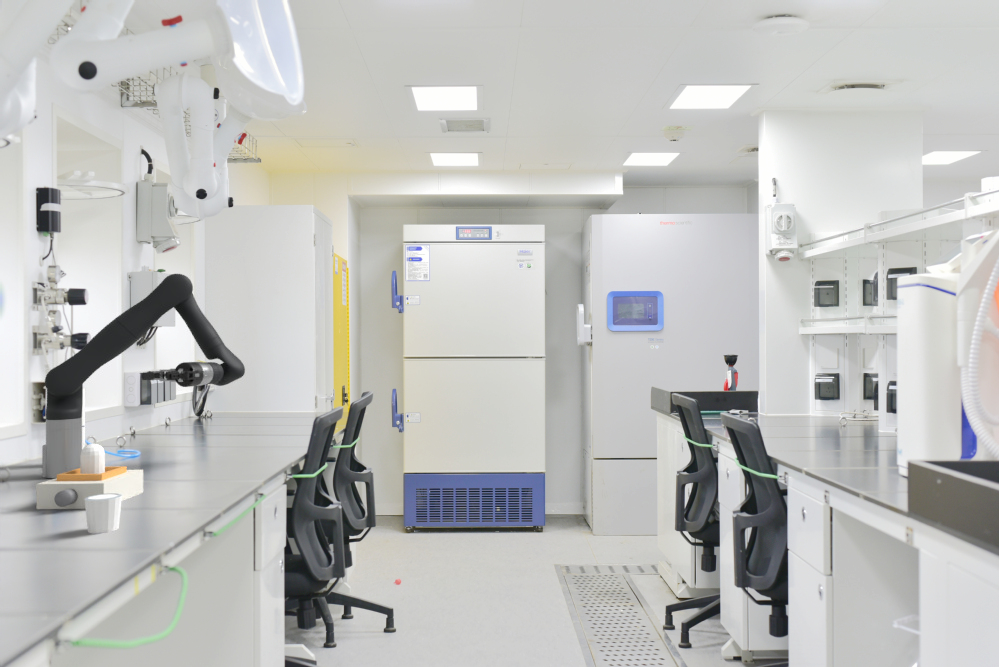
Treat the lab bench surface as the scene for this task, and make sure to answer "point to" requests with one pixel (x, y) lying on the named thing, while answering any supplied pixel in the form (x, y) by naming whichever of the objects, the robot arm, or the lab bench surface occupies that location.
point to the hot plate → (87, 487)
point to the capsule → (92, 459)
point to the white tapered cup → (103, 512)
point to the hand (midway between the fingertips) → (155, 376)
